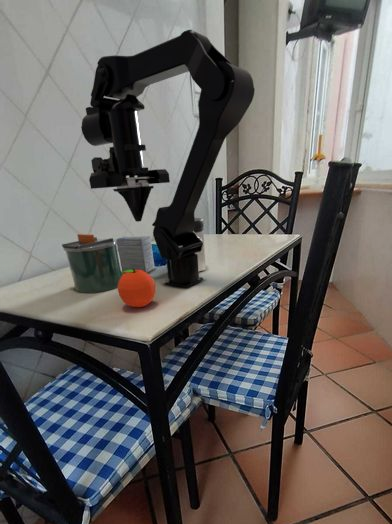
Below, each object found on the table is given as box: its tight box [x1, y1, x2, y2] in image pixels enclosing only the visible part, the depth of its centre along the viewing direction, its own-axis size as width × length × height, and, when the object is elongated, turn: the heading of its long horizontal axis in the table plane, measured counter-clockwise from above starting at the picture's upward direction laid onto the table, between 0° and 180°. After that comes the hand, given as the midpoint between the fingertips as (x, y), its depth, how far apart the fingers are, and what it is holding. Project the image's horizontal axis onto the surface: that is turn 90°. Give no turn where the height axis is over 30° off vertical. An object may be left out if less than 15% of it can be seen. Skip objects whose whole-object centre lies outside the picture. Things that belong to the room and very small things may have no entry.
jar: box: [179, 217, 207, 273], centre depth 79 cm, size 9×8×12 cm
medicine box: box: [115, 235, 156, 273], centre depth 82 cm, size 8×4×9 cm, turn 66°
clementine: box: [114, 269, 156, 308], centre depth 58 cm, size 8×7×7 cm
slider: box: [62, 233, 95, 249], centre depth 67 cm, size 5×5×2 cm
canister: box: [61, 236, 123, 294], centre depth 72 cm, size 12×12×10 cm
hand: (138, 221), depth 72 cm, fingers closed
